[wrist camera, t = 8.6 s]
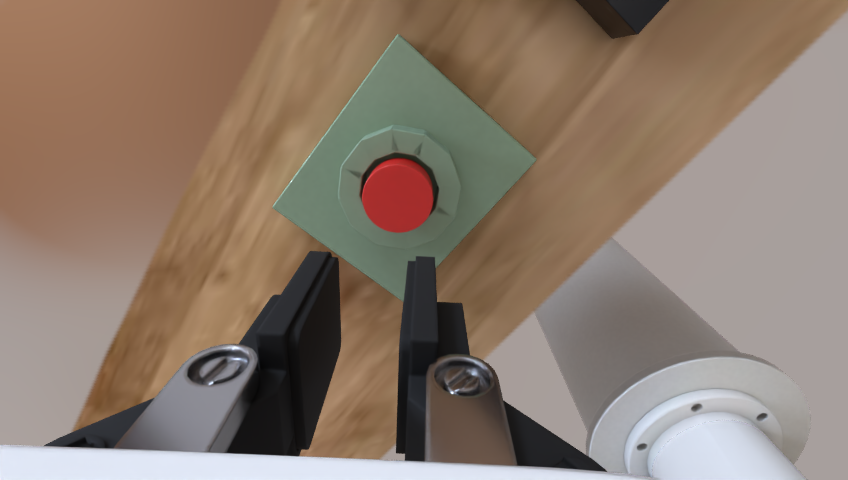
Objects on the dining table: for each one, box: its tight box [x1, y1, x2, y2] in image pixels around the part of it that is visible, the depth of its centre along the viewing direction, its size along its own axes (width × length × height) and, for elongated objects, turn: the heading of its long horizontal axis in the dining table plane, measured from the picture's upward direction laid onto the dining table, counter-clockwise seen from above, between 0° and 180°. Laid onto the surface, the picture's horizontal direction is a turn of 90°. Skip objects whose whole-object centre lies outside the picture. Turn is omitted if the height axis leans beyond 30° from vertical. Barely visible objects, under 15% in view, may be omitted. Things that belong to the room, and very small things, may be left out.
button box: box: [273, 34, 537, 302], centre depth 24 cm, size 12×10×4 cm
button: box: [362, 158, 433, 233], centre depth 22 cm, size 4×4×2 cm
